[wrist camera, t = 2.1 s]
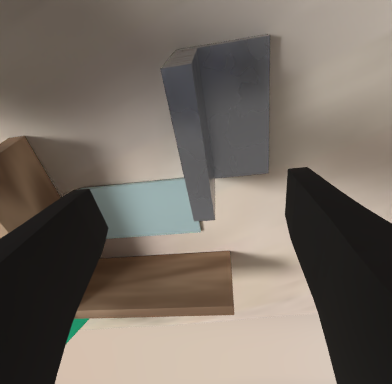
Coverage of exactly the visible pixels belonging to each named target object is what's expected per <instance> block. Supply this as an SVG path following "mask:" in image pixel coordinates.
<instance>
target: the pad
mask: <svg viewBox="0 0 392 384" xmlns="http://www.w3.org/2000/svg"><path fill="white" fill-rule="evenodd" d="M80 189H90V191H91V193H92V195H93V197H94V199H95V201H96V203H97V205H98V207H99V209H100V211H101V213H102V215H103V217H104V219H105V221H106V224H107V226H108V228H109V229H108V233H107V237H106V239H111V238H125V237H139V236H154V235H168V234H182V233H196V232H201V228H200V223H199V221H195V222H194V220H193V215H192V211H191V206H190V202H189V197H188V192H187V188H186V183H185V179H184V178H177V179H167V180H157V181H147V182H138V183H128V184H118V185H108V186H98V187H88V188H80ZM80 189H79V190H80Z"/></svg>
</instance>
